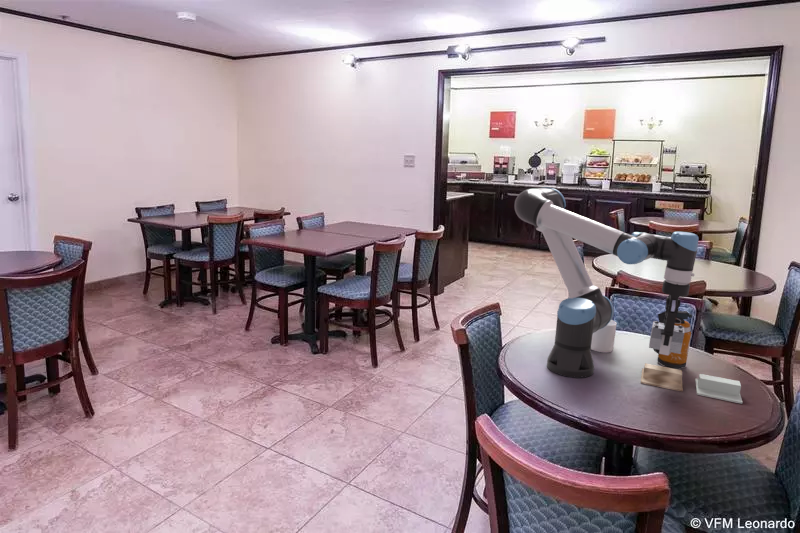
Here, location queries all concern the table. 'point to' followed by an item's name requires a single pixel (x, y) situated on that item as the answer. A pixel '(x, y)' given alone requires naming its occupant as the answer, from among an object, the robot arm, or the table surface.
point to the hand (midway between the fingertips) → (663, 350)
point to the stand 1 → (662, 377)
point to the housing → (657, 337)
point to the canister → (680, 359)
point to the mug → (604, 338)
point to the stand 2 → (718, 388)
